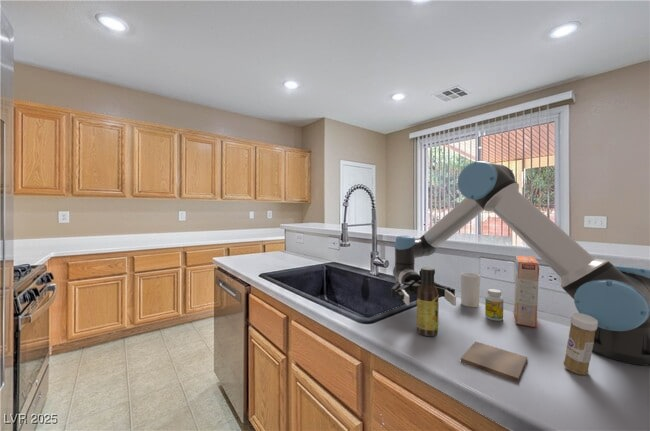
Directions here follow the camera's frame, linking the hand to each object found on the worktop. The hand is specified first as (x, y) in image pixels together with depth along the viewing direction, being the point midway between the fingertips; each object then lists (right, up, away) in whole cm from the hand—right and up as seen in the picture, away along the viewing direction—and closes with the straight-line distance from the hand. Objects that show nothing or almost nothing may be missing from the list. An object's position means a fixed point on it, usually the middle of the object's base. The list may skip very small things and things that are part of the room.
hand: (431, 301), depth 83 cm
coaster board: (+11, -11, -12) cm, 20 cm away
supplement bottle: (+27, -11, +15) cm, 33 cm away
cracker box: (+37, -11, +14) cm, 41 cm away
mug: (+27, -10, +29) cm, 41 cm away
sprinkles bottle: (+28, -11, -16) cm, 34 cm away
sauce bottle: (0, -11, +4) cm, 12 cm away
